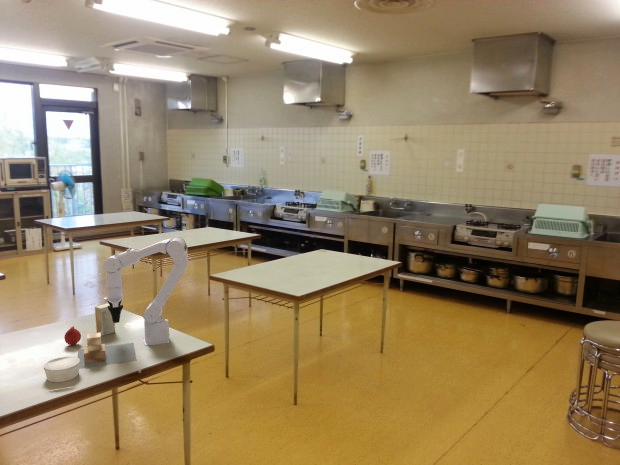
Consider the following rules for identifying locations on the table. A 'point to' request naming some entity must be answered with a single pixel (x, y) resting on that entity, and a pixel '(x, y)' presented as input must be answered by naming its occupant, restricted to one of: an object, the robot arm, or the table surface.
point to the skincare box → (104, 320)
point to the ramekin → (62, 369)
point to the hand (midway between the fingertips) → (115, 319)
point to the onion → (72, 336)
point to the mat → (111, 355)
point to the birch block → (94, 342)
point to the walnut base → (94, 355)
